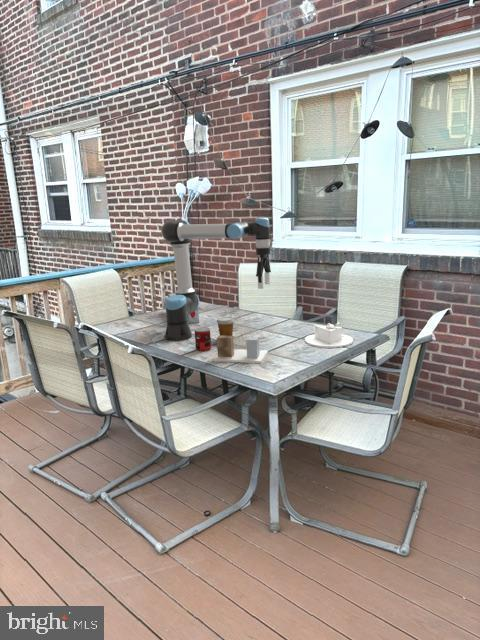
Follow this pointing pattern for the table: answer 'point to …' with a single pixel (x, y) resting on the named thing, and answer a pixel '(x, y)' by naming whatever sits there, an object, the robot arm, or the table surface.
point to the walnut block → (225, 346)
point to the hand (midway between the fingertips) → (264, 286)
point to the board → (242, 357)
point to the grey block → (252, 347)
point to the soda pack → (191, 314)
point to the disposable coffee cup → (225, 326)
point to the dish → (328, 337)
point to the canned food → (202, 339)
